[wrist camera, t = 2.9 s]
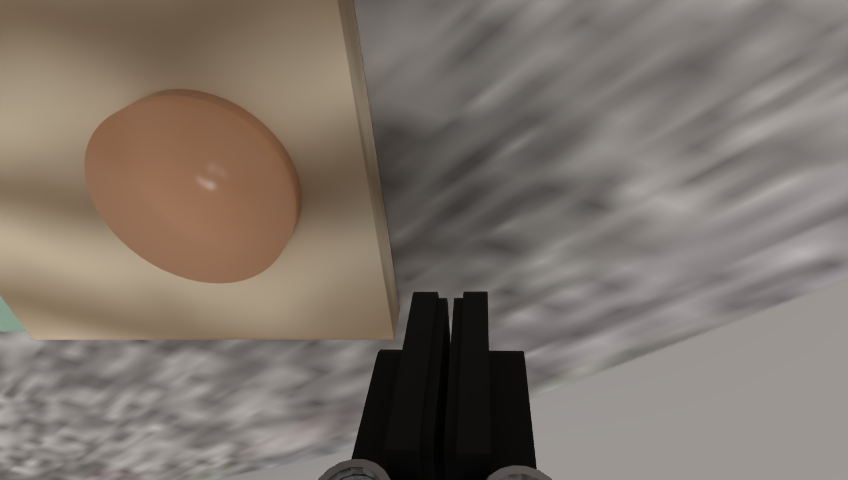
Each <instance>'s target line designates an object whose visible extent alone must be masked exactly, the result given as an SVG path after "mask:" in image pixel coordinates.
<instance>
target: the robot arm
mask: <svg viewBox="0 0 848 480" xmlns="http://www.w3.org/2000/svg"><path fill="white" fill-rule="evenodd" d="M318 480H552V479H551V478H550V477H548V476H547V475H545V474H544V473H542V472H541V471H539V470H537V468H536V459H535V449H534V440H533V431H532V421H531V412H530V403H529V393H528V384H527V375H526V365H525V357H524V352H523V351H489V339H488V293H487V292H464V293H463V298H454V307H453V321H452V335H451V342H450V328H449V315H448V301H447V298H439V295H438V292H414V293H413V296H412V302H411V307H410V312H409V318H408V323H407V328H406V334H405V339H404V344H403V350H380V351H379V352H378V355H377V358H376V362H375V366H374V370H373V374H372V378H371V382H370V386H369V390H368V394H367V398H366V402H365V407H364V411H363V415H362V419H361V423H360V427H359V431H358V435H357V439H356V443H355V447H354V452H353V455H352V459H351V460H348V461H343V462H340V463H338V464H337V465H335V466H333V467H332V468H329V469H328V470H327V471H326V472H325V473H324V474H323V475H322V476H321V477H320V478H319V479H318Z"/></svg>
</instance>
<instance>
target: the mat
mask: <svg viewBox="0 0 848 480" xmlns="http://www.w3.org/2000/svg"><path fill="white" fill-rule="evenodd" d="M0 331H26V330H25V328H24V327H23V326H22V324H21V323H20V322H19V320H18V319H17V318H16V316H15V315H14V314H13V312H12V311H11V310H10V308H9V307H8V305H7V304H6V303H5V301H4V300H3V299H2V297H1V296H0Z"/></svg>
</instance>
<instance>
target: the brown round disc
mask: <svg viewBox="0 0 848 480" xmlns="http://www.w3.org/2000/svg"><path fill="white" fill-rule="evenodd" d="M84 168H85V178H86V183H87V187H88V190H89V193H90V196H91V199H92V201H93V203H94V205H95V207H96V209H97V211H98V212H99V214H100V216H101V217H102V219H103V220H104V222H105V223H106V224H107V226H108V227H109V228H110V229H111V231H112V232H113V233H114V234H115V235H116V236H117V237H118V238H119V239H120V240H121V241H122V242H123V243H124V244H125V245H126V246H127V247H128V248H130V249H131V250H132V251H133V252H135V253H136V254H137V255H139V256H140V257H141V258H143V259H144V260H146V261H148V262H149V263H151V264H152V265H154V266H156V267H158V268H160V269H162V270H164V271H166V272H169V273H171V274H174V275H176V276H179V277H182V278H185V279H189V280H194V281H198V282H205V283H222V284H223V283H234V282H238V281H243V280H246V279H249V278H252V277H254V276H256V275H258V274H260V273H262V272H263V271H265V270H266V269H267V268H269V267H270V266H271V265H272V264H273V263H274V262H275V261H276V260H277V259H278V257H279V256H280V254H281V253H282V251H283V249H284V248H285V246H286V244H287V242H288V240H289V239H290V237H291V235H292V233H293V232H294V230H295V228H296V225H297V223H298V221H299V217H300V213H301V206H302V194H301V186H300V181H299V177H298V175H297V172H296V169H295V166H294V164H293V162H292V160H291V158H290V156H289V154H288V153H287V151H286V150H285V148H284V147H283V145H282V144H281V142H280V141H279V140H278V139H277V138H276V136H275V135H274V134H273V133H272V132H271V131H270V130H269V129H268V128H267V127H266V126H265V125H264V124H263V123H262V122H261V121H259V120H258V119H257V118H256V117H255V116H253V115H252V114H251V113H249V112H248V111H246V110H244V109H243V108H241V107H240V106H238V105H236V104H234V103H232V102H230V101H228V100H226V99H224V98H221V97H218V96H216V95H213V94H209V93H205V92H201V91H196V90H188V89H170V90H164V91H159V92H156V93H153V94H149V95H147V96H145V97H143V98H141V99H139V100H138V101H136V102H134V103H132V104H130V105H128V106H127V107H125V108H123V109H121V110H119V111H118V112H116V113H114V114H112V115H110V116H109V117H108V118H106V119H105V120H104V121H103V122H102V123H101V124H100V125H99V126H98V127H97V128H96V130H95V131H94V132H93V134H92V136H91V138H90V140H89V142H88V145H87V149H86V152H85V161H84Z"/></svg>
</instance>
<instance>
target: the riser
mask: <svg viewBox="0 0 848 480" xmlns="http://www.w3.org/2000/svg"><path fill="white" fill-rule="evenodd" d="M170 89H188V90H196V91H201V92H205V93H209V94H213V95H216V96H218V97H221V98H224V99H226V100H228V101H230V102H232V103H234V104H236V105H238V106H240V107H241V108H243V109H244V110H246V111H248V112H249V113H251V114H252V115H253V116H255V117H256V118H257V119H258V120H259V121H261V122H262V123H263V124H264V125H265V126H266V127H267V128H268V129H269V130H270V131H271V132H272V133H273V134H274V135H275V136H276V138H277V139H278V140H279V141H280V142H281V144H282V145H283V147H284V148H285V150H286V151H287V153H288V154H289V156H290V158H291V160H292V162H293V164H294V166H295V169H296V172H297V175H298V177H299V181H300V186H301V194H302V206H301V213H300V217H299V221H298V223H297V225H296V228H295V230H294V232H293V233H292V235H291V237H290V239H289V240H288V242H287V244H286V246H285V248H284V249H283V251H282V253H281V254H280V256H279V257H278V259H277V260H276V261H275V262H274V263H273V264H272V265H271V266H270V267H269V268H267V269H266V270H265V271H263V272H262V273H260V274H258V275H256V276H254V277H252V278H249V279H246V280H243V281H238V282H234V283H223V284H222V283H205V282H198V281H194V280H189V279H185V278H182V277H179V276H176V275H174V274H171V273H169V272H166V271H164V270H162V269H160V268H158V267H156V266H154V265H152V264H151V263H149V262H148V261H146V260H144V259H143V258H141V257H140V256H139V255H137V254H136V253H135V252H133V251H132V250H131V249H130V248H128V247H127V246H126V245H125V244H124V243H123V242H122V241H121V240H120V239H119V238H118V237H117V236H116V235H115V234H114V233H113V232H112V231H111V229H110V228H109V227H108V226H107V224H106V223H105V222H104V220H103V219H102V217H101V216H100V214H99V212H98V211H97V209H96V207H95V205H94V203H93V201H92V199H91V196H90V193H89V190H88V187H87V183H86V178H85V168H84V161H85V152H86V149H87V145H88V142H89V140H90V138H91V136H92V134H93V132H94V131H95V130H96V128H97V127H98V126H99V125H100V124H101V123H102V122H103V121H104V120H105V119H106V118H108V117H109V116H110V115H112V114H114V113H116V112H118V111H119V110H121V109H123V108H125V107H127V106H128V105H130V104H132V103H134V102H136V101H138V100H139V99H141V98H143V97H145V96H147V95H149V94H153V93H156V92H159V91H164V90H170ZM0 296H1V297H2V299H3V300H4V301H5V303H6V304H7V305H8V307H9V308H10V310H11V311H12V312H13V314H14V315H15V316H16V318H17V319H18V320H19V322H20V323H21V324H22V326H23V327H24V328H25V330H26V331H27V332H28V334H29V335H30V336H31V338H32V339H33V340H201V339H394V337H395V332H396V327H397V321H398V316H399V311H400V308H399V301H398V294H397V288H396V281H395V275H394V268H393V261H392V255H391V248H390V241H389V235H388V228H387V221H386V215H385V208H384V201H383V195H382V188H381V182H380V175H379V168H378V162H377V155H376V148H375V142H374V135H373V128H372V122H371V115H370V108H369V102H368V95H367V89H366V82H365V75H364V69H363V62H362V55H361V49H360V42H359V35H358V29H357V22H356V15H355V9H354V2H353V0H0Z"/></svg>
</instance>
